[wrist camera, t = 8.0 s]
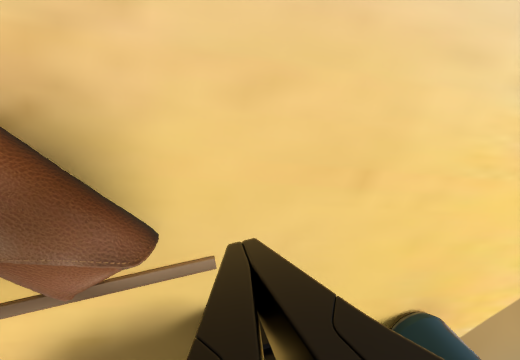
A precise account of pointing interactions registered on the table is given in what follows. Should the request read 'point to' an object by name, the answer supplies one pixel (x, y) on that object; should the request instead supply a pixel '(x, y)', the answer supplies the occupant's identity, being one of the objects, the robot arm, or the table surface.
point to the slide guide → (110, 286)
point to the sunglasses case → (61, 227)
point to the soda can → (433, 336)
